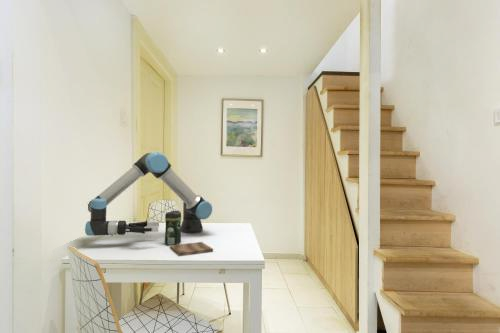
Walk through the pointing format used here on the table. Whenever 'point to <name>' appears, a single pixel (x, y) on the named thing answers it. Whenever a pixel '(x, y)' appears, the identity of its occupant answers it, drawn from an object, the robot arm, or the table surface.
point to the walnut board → (191, 248)
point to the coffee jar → (173, 228)
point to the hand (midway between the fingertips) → (158, 226)
